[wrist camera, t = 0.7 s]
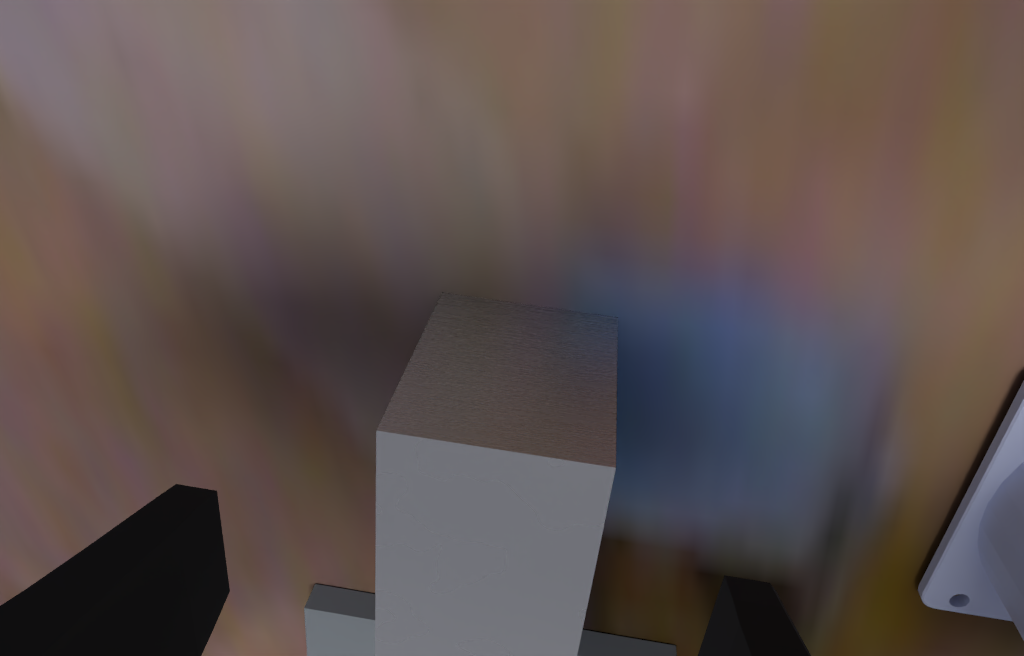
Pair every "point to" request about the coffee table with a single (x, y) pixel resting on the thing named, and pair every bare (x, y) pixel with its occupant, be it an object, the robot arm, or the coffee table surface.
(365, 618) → the display stand
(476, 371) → the block
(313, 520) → the coffee table surface
